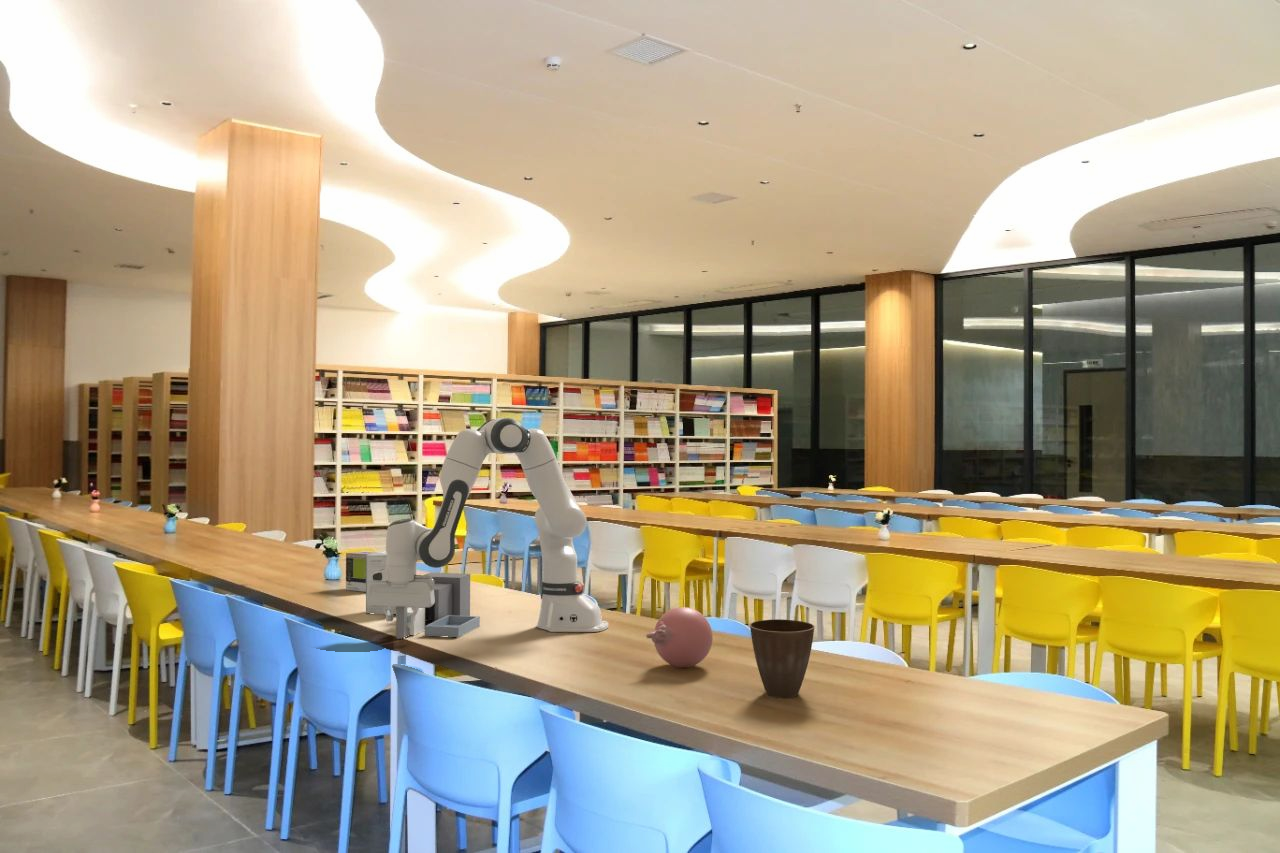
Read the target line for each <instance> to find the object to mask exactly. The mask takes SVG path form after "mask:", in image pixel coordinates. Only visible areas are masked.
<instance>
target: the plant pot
mask: <svg viewBox="0 0 1280 853" xmlns="http://www.w3.org/2000/svg"><path fill="white" fill-rule="evenodd" d="M749 628H750V635H751V636H750V637H751V641H752V642H751V643H752V648H753V653H754V657H755V662H756V666H757V669H758V673H759V676H760V679H761V682H762V685H763V688H764V691H765V693H766V695H768V696H771V697H774V698H784V699H785V698H794V697H797V696H798V695H799V692H800V690H801V687H802V685H803V682H804V679H805V676H806V671H807V669H808V665H809V661H810V657H811V652H812V646H813V640H814V635H815V633H814V632H815V625H813V624H812V623H811V622H807V621H802V620H793V619H779V618H778V619H775V618H773V619H763V620H761V619H760V620H756V621H753V622H751V623H750V624H749Z"/></svg>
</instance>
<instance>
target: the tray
mask: <svg viewBox="0 0 1280 853" xmlns="http://www.w3.org/2000/svg"><path fill="white" fill-rule="evenodd" d="M480 618H481V617H480V615H479V616H478V615H477V616H476V615H475V616H474V615H470V616H454V615H447V616H445V617H443V618H441V619H439V620H437V621H432V622H431V623H428V624H427V625H426V624H425V631H424V637H425V636H448V637H459V638H461V637H463V636H464V635H463V634H465V633H467V632H468V633H470V632H472V631H474V630H475V628H476V629H477V627H478V626H479V627H480V626H481V624H480V623H481V619H480ZM479 627H478V628H479ZM473 629H474V630H473ZM471 630H472V631H471ZM469 631H470V632H469ZM468 633H467V634H468ZM462 635H463V636H462ZM465 635H466V634H465ZM460 636H461V637H460Z"/></svg>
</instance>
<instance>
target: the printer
mask: <svg viewBox="0 0 1280 853" xmlns="http://www.w3.org/2000/svg"><path fill="white" fill-rule="evenodd" d="M424 575H429V576H430V577H432V578H433V579H434V596H435V603H434V604H433V606H431V607H419V608H425V621H426V620H428V621H431V620H435V621H437V620H439V619H441V618H443V617H445V616H447V615H454V616H471V573H453V572H428V573H426V574H424ZM430 579H431V578H430ZM435 621H434V622H435ZM426 622H427V621H426Z"/></svg>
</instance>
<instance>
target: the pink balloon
mask: <svg viewBox="0 0 1280 853" xmlns="http://www.w3.org/2000/svg"><path fill="white" fill-rule="evenodd" d="M645 637H646V639H651V641H652V642H653V644H654V648H655V650H656V652H657V654H658V655H659V657H660V658H661V659H662V660H663V661H665V662H666V663H667V664H668V665H671V666H673V667H677V668H689V667H693V666H695V665H696V666H697V665H698V664H700V662H703V660H704V659H705V658H706V657H707V656H708V654H709V653H710V650H711V648H712V645H713V639H714V637H713V630H712V627H711V624H710V622H709V621H708V619H707V618H706V616H705V615H703V613H701V612H700V611H698V610H696V609H694V608H691V607H687V606H684V607H683V606H680V607H673V608H671V609H670V610H668V611H666V612H665V613H664V614H662V615H661V617H659V619H658V620H657V622H656V624H655V627H654V630H653V631H652V632H649V633H647V634H646V636H645Z"/></svg>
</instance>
